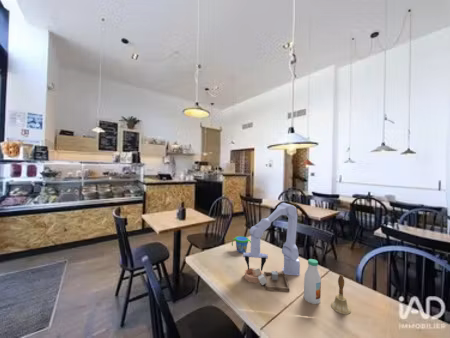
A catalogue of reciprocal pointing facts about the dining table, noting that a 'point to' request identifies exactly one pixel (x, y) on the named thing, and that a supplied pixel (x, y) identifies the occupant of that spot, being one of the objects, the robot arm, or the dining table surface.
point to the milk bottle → (312, 283)
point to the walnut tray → (276, 282)
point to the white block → (262, 279)
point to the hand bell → (340, 299)
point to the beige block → (256, 272)
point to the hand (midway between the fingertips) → (255, 269)
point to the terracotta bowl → (251, 275)
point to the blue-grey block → (274, 275)
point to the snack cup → (241, 243)
